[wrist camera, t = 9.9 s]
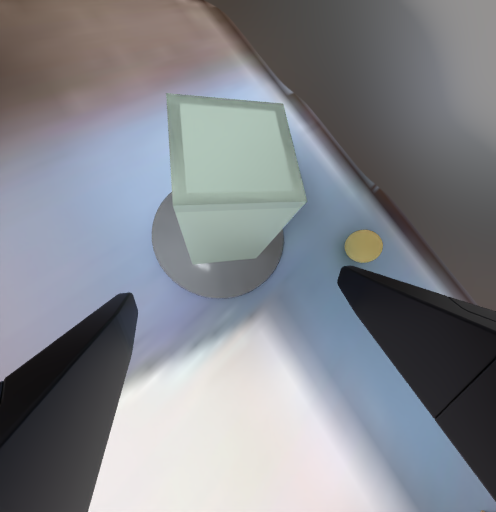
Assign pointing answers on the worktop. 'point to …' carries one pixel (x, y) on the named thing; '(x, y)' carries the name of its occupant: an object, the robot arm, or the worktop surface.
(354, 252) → the mustard ball
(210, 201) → the pale green block
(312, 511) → the worktop surface
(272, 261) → the coaster
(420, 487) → the worktop surface
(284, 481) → the worktop surface
